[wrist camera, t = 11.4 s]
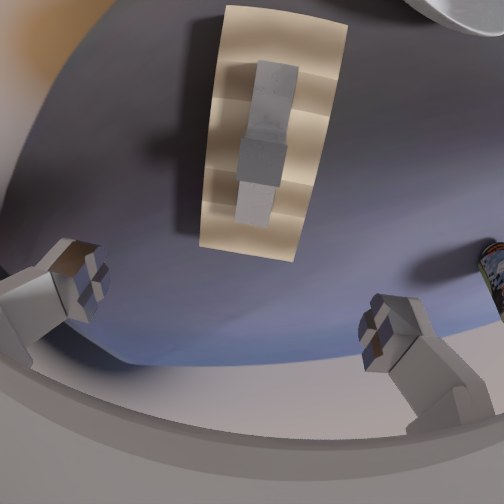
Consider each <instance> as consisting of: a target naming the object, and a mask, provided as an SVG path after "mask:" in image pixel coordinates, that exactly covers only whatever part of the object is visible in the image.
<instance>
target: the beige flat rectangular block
mask: <svg viewBox="0 0 504 504" xmlns="http://www.w3.org/2000/svg"><path fill="white" fill-rule="evenodd" d="M347 28H348V26H347V25H344V24H340V23H337V22H333V21H329V20H325V19H321V18H316V17H312V16H307V15H302V14H297V13H291V12H286V11H279V10H272V9H265V8H256V7H246V6H233V5H226V11H225V16H224V22H223V28H222V34H221V40H220V46H219V53H218V59H217V66H216V73H215V81H214V88H213V96H212V104H211V112H210V121H209V130H208V140H207V150H206V160H205V171H204V183H203V196H202V210H201V225H200V243H199V246H201V247H207V248H213V249H219V250H225V251H231V252H236V253H242V254H248V255H254V256H260V257H266V258H272V259H278V260H284V261H290V262H293V260H294V256H295V253H296V249H297V246H298V242H299V238H300V235H301V231H302V227H303V224H304V220H305V216H306V212H307V209H308V205H309V201H310V197H311V193H312V189H313V185H314V181H315V177H316V173H317V169H318V165H319V161H320V157H321V153H322V149H323V144H324V140H325V136H326V131H327V127H328V123H329V118H330V114H331V109H332V104H333V100H334V95H335V90H336V86H337V81H338V76H339V71H340V66H341V61H342V55H343V50H344V45H345V39H346V34H347ZM258 60H263V61H270V62H276V63H282V64H287V65H293V66H298V67H299V69H298V74H297V80H296V85H295V90H294V96H293V101H292V106H291V112H290V117H289V122H288V128H287V133H286V135H287V142H288V148H287V153H286V158H285V163H284V168H283V173H282V178H281V183H280V188H279V187H276V189H275V194H274V199H273V204H272V209H271V214H270V219H269V224H268V228H266V227H261V226H255V225H249V224H243V223H237V222H234V220H235V212H236V205H237V198H238V190H239V183H240V181H238V180H236V173H237V166H238V158H239V151H240V144H241V137H242V136H243V134H244V132H245V131H246V129H247V127H248V121H249V114H250V108H251V101H252V95H253V89H254V83H255V76H256V70H257V64H258Z"/></svg>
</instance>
